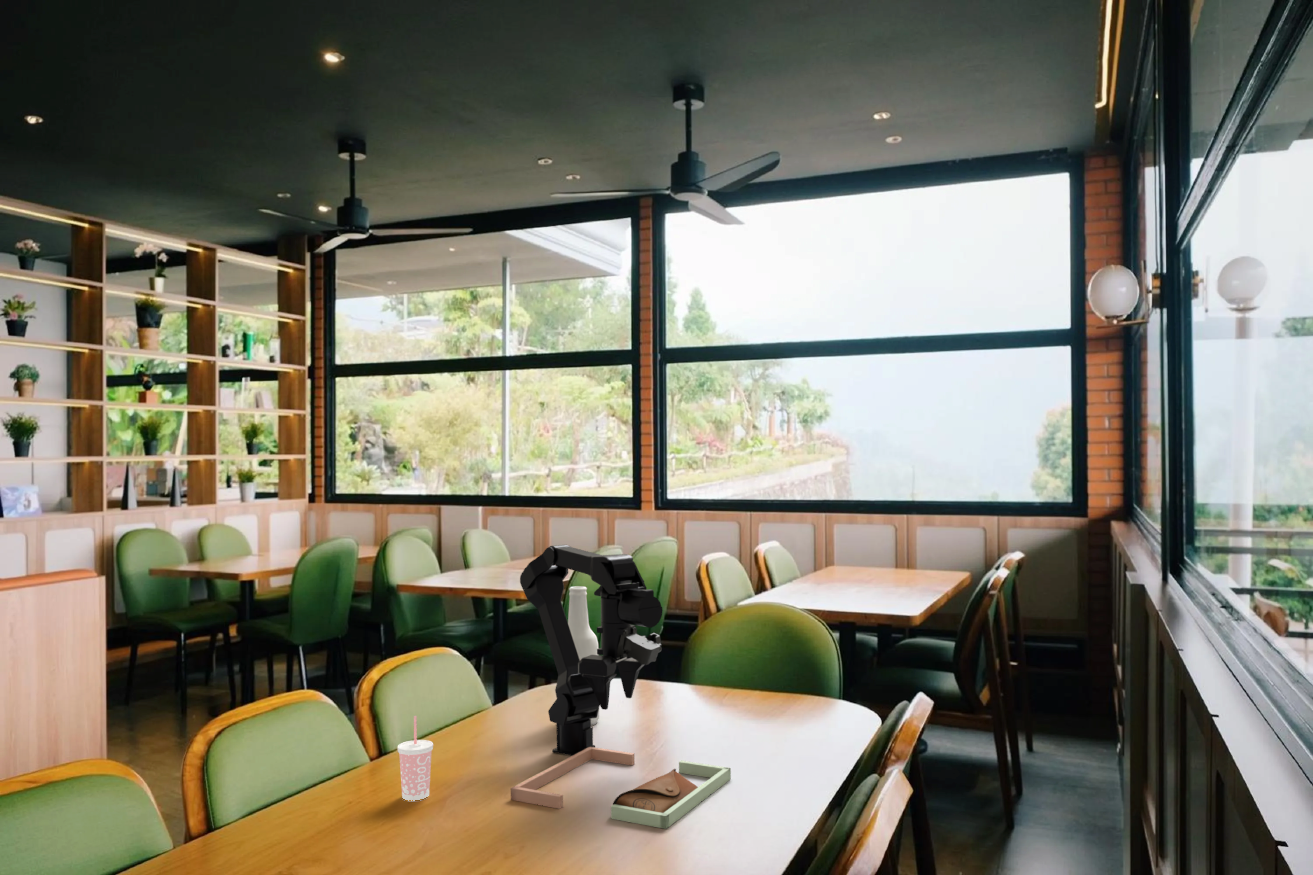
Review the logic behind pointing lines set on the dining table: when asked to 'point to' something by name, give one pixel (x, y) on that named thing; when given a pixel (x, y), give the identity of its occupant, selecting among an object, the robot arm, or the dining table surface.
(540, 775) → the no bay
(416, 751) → the beverage cup
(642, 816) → the mint green arch
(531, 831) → the dining table surface
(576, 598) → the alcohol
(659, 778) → the sunglasses case
